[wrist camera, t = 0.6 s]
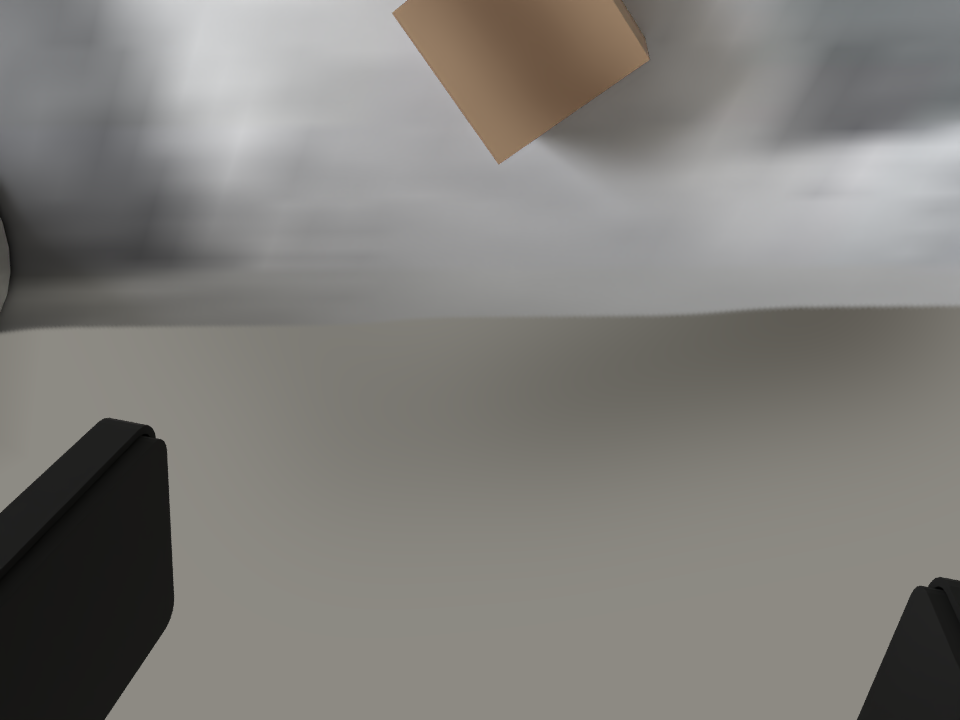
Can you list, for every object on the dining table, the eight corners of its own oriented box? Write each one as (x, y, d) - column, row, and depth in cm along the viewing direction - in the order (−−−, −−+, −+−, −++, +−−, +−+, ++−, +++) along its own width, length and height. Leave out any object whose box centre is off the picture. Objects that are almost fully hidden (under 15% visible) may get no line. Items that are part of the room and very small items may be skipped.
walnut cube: (516, 128, 37) (498, 164, 31) (426, -2, 35) (391, 13, 30) (645, 38, 34) (650, 59, 29) (556, -106, 33) (543, -111, 27)
